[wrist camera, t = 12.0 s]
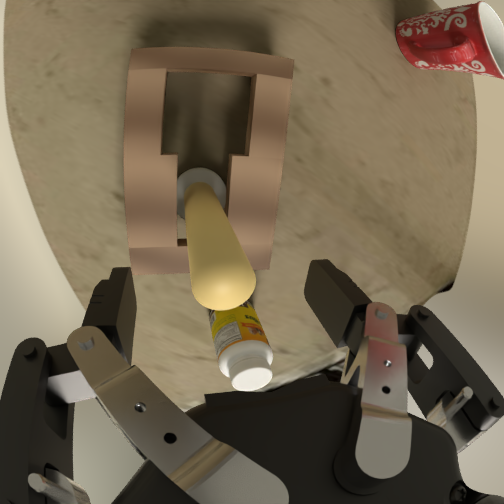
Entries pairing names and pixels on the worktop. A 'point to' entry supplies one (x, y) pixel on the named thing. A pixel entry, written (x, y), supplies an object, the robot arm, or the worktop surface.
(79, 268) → the worktop surface
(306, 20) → the worktop surface
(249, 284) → the peg
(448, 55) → the mug
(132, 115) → the keyhole board
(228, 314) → the supplement bottle
